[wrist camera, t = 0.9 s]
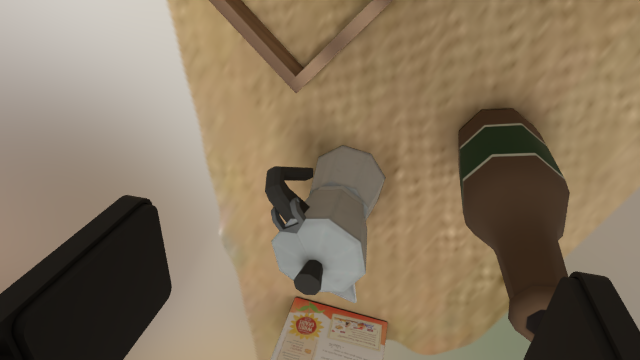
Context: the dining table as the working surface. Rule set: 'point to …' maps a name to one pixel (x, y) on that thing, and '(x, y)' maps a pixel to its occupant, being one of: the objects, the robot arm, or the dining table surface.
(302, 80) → the frame
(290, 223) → the coffee maker
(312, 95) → the dining table surface
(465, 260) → the dining table surface
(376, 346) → the cracker box
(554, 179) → the beer bottle
